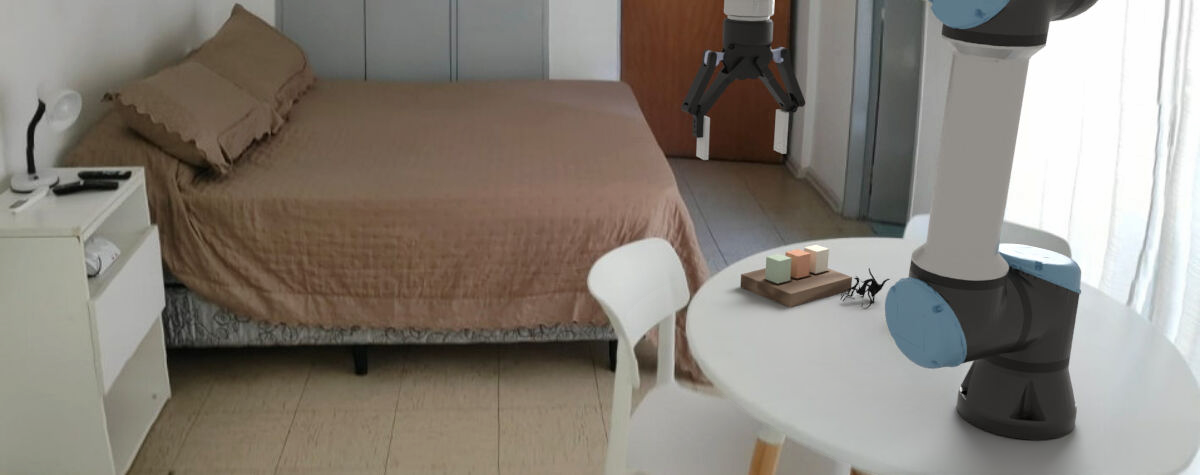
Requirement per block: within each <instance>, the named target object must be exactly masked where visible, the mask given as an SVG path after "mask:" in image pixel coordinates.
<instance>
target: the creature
mask: <svg viewBox="0 0 1200 475" xmlns="http://www.w3.org/2000/svg"><path fill="white" fill-rule="evenodd" d="M868 272H869V275H870V277H871V278H868V279H865V280H863V281H862V280H860V278H859V277H858V276H857V275H856V274H855V277H854V280H856V283H855V284H854V285H853V286H851V288H849V289H846V290H849V291H846V290H845V291H846V292H844V291H843V292H842V293H840V296H841V297H840V301H841V300H842V299H843V300H842V302H844V301H846V300H845V299H846V298H848V297H849V298H850V299H853V300H855V297H857V295H856V296H855V297H853V296H854V292H856V293H857V294H858V295H859V297H860V298H865V294H866V293H867V296H868V299H869V300H870V301H869V303H867V305H868V304H869V305H868V306H865V307H864V308H863V304H864V303H861V306H860V307H861V308H863V310H866V309H868V308H869V307H871V305H872V304H874V303H875V298H876V297H875V296H876V295H877V294H878V293H879V292H880V291H881V290H882V289H883V287H884V286H885V283H886V282H887V281H890V280H891V278H886V279H884V280H883V281H882V282H881V283H878V281H877V280H876V279H875V277H874V275H873V274H872V272H871V268H870V267H869V268H868ZM860 282H861V283H863V284H862V285H861V287H860ZM869 283H870V284H869ZM857 287H858V288H857ZM867 287H868V288H867ZM843 297H844V298H843Z"/></svg>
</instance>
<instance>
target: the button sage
mask: <svg viewBox="0 0 1200 475" xmlns="http://www.w3.org/2000/svg"><path fill="white" fill-rule="evenodd" d="M765 260H766V261H765V263H766V264H765V268H766V273H765V279H767V280H769V281H772V282H775V283H777V284H778V283H782V282H786V281H790V275H791V260H792V258H790V257H787V256H785V254H781V253H776V254H771V255H767V256H766V258H765Z"/></svg>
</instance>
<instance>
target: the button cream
mask: <svg viewBox="0 0 1200 475" xmlns="http://www.w3.org/2000/svg"><path fill="white" fill-rule="evenodd" d="M803 251H805V252H808V253H811V254H810V268H809V272H812V273H815V274H816V273H820V272H824V271H827V269H829V268H828V266H829V254H830V248H828V247H825V246H821V245H819V244H814V245H808V246H804V250H803Z"/></svg>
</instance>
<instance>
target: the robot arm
mask: <svg viewBox="0 0 1200 475" xmlns="http://www.w3.org/2000/svg"><path fill="white" fill-rule="evenodd" d="M927 1H928V2H930V3H931V7H930V10H931V12H932V14H933V15H934V16H935V18H936V19H938V21H940V23H942V28H941V33H940V34H941V36H940V37H941V38H942V39H943V41H944V42H945V43H946V44H947V45H948V46H949V49H950V50H951V61H950V68H949V74H948V81H947V90H946V95H945V96H946V97H945V103H944V110H943V118H942V124H941V125H942V126H941V133H940V139H939V146H938V147H939V148H938V154H937V162H936V170H935V177H934V183H933V189H932V190H933V191H932V197H931V204H930V212H929V218H928V227H927V234H926V240H925V242H924V243H923V244H922V245H920V246H918V247H917V248H915V249H914V250H913V251H912V253H911V258H910V259H911V260H910V265H909V271H908V272H909V274H908V276H907V277H903V278H900V279H899V280H898V281H896V282H895V284H894V285H891V286H890V288H889V289H888V291H887V293H886V296H885V302H884V313H885V314H884V316H885V322H886V325H887V329H888V331H889V334H890V336H891V337H892V339H893V340H894V343H895V345H896V347H897V348H898V350H899V351H900V352H901V353H902V355H903V356H905V357H906V358H907V359H908V360H909V361H911V362H912V363H914V364H915V365H917V366H919V367H922V368H925V369H931V370H934V369H942V368H956V367H959V366H961V365H962V364H966V363H970V362H972V363H971V365H970V366H969V368H968V371H967V372H966V374H965V376H964V379H963V380H962V382H961V384H960V387H959V389H958V393H957V400H956V410H957V412H958V414H959V415H960V416H961V417H962V418H963V419H964V420H965V421H966V422H968V423H969V424H971V425H973V426H975V427H977V428H979V429H981V430H983V431H986V432H989V433H992V434H996V435H999V436H1003V437H1008V438H1014V439H1020V440H1021V439H1023V440H1032V441H1033V440H1035V441H1036V440H1037V441H1038V440H1050V439H1051V440H1052V439H1056V438H1060V437H1063V436H1065V435H1067V434H1069V433H1071V432H1072V431H1073V430H1074V428H1075V426H1076V419H1077V412H1078V410H1077V408H1078V406H1077V402H1076V400H1075V395H1074V389H1073V383H1072V380H1071V374H1070V371H1069V370H1070V368H1069V367H1070V360H1071V359H1070V358H1071V354H1072V353H1071V352H1072V347H1073V346H1072V345H1073V339H1074V333H1075V328H1076V327H1075V326H1076V321H1077V320H1076V319H1077V313H1078V308H1079V306H1078V305H1079V300H1080V295H1081V294H1082V290H1081V280H1082V270H1081V267H1080V266H1079V264H1078V263H1077V261H1075V260H1074V259H1073V258H1071V257H1069V256H1067V255H1065V254H1062V253H1060V252H1056V251H1053V250H1049V249H1046V248H1041V247H1036V246H1032V245H1026V244H1019V243H1018V244H1017V243H1001V237H1002V234H1003V233H1002V232H1003V226H1004V219H1005V214H1006V206H1007V202H1008V201H1007V200H1008V194H1009V188H1010V183H1011V176H1012V170H1013V164H1014V163H1013V162H1014V157H1015V151H1016V144H1017V139H1018V133H1019V127H1020V126H1019V125H1020V119H1021V113H1022V107H1023V101H1024V95H1025V88H1026V84H1027V77H1028V71H1029V64H1030V59H1031V58H1032V56H1034V55H1035V54H1037V53H1038V52H1039V51H1041V50H1042V49H1044V48H1045V47H1046V46H1047V41H1048V35H1049V28H1050V23H1051V22H1057V21H1058V22H1059V21H1065V20H1068V19H1071V18H1075V17H1077V16H1079V15H1081V14H1084V13H1085V12H1087V11H1088V10H1089V9H1091V8H1092V7H1093V6H1095V5H1096V4H1097V2H1098V1H1099V0H927ZM723 14H725V15H726V16H727V17H724V19H723V21H722V22H723V23H722V45H723V46H722V49H721V51H719V52H718V51H713V50H709V49H705V50H703V52H702V58H701V65H700V66H699V69H698V71H697V73H696V74H695V76H694V79H693V82H692V83H691V85H690V88H689V89H688V91H687V93H686V96H685V97H684V100H683V101H682V104H681V107H680V109H681V111H682V112H685V113H687V114H689V115H691V116H692V127H691V128H692V137H695V138H696V154H695V156H696V157H697V158H699V159H701V160H703V161H707V160H708V161H709V158H710V157H709V155H710V154H709V153H710V152H709V151H710V148H709V147H710V131H711V130H710V126H711V117H709V116H707V114H708V113H709V112H710V110H711V109H712V107H713V106H714V104H716V102H717V101H718V100H719V98H720V97H721V96H722V94H723V93H724V92H725V90H726V89H727V88H728V87H729V85H730V84H732V83H734V82H735V80H738V81H745V80H747V79H750V80H758V79H760V81H761V82H762V83H763V85H764V86H765V87H766V88H767V90H768V92H769V93H770V94H771V96H772V97H773V99H774V100H775V102H777V104H778V105H779V106H780V108H781V109H775V124H774V137H773V138H774V139H773V140H774V141H773V151H776V152H777V153H780V154H782V155H783V154H785V155H786V154H787V151H788V150H787V148H788V132H792V129H793V123H794V122H793V120H794V113H796V112H797V111H798V108H800V107H801V108H803V107H804V106H805V105H806V100H805V97H804V94H803V92H802V89H801V87H800V84H799V81H798V79H797V77H796V76H797V75H796V73H795V71H794V69H793V66H792V63H791V51H790V49H789V48H786V47H783V46H777V47H776V48H775V49H772V43H773V35H774V21H773V19H772V18H770V17H772V16H774V15H775V0H724V2H723ZM772 60H773V62H775V64H776V66H777V69H778V72H779V74H780V78H781V80H782V83H783V84H784V88H785V90H786V92H785V90H784V88H783V87H782V86H781V85H780V83H779V82H778V80H777V79H776V77H775V74H774V72H772V70H771V69H770V68H769V65H770V63H771V62H772ZM720 62H721V63H722V65H723V66H722V67H721V69H720V70H719V71H718V72H717V75H716V78H715V79H714V80H713V81H712V83H711V84H710V85H709V82H710V81H711V79H712V77H713V74H714V72H715V70H716V67H717V66H718V65H720ZM708 85H709V86H708ZM707 87H708V88H707Z"/></svg>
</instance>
